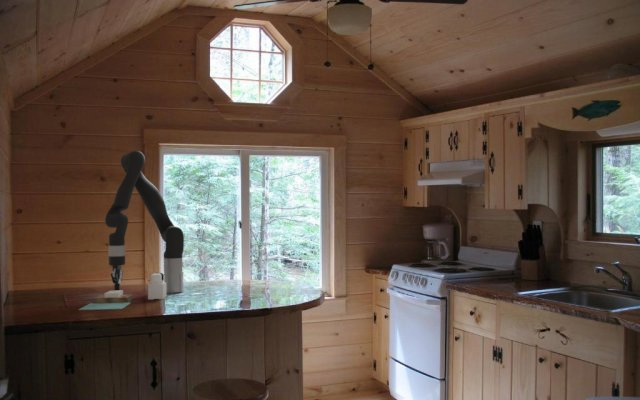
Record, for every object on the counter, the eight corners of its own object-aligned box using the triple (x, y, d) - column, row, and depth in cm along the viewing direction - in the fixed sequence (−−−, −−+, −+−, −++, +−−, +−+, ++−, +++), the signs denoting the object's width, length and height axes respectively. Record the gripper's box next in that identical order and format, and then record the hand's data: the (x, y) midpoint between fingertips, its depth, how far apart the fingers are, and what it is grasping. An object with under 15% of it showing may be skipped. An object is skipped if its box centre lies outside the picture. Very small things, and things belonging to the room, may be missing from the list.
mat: (130, 303, 284) (130, 302, 284) (121, 309, 268) (121, 308, 268) (90, 304, 283) (90, 303, 283) (78, 310, 267) (78, 309, 267)
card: (109, 294, 294) (109, 290, 294) (122, 294, 294) (122, 290, 294) (104, 297, 285) (104, 293, 285) (118, 297, 285) (117, 293, 285)
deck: (132, 299, 294) (132, 294, 294) (127, 303, 284) (127, 297, 284) (100, 300, 294) (100, 294, 294) (93, 303, 284) (93, 298, 284)
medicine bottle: (151, 297, 301) (151, 272, 301) (166, 297, 301) (166, 272, 301) (147, 299, 294) (147, 274, 294) (163, 299, 294) (162, 273, 294)
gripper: (121, 256, 290) (121, 293, 290) (128, 253, 303) (128, 289, 303) (104, 256, 290) (105, 293, 290) (112, 253, 303) (113, 289, 303)
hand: (117, 291), depth 296 cm, fingers closed
